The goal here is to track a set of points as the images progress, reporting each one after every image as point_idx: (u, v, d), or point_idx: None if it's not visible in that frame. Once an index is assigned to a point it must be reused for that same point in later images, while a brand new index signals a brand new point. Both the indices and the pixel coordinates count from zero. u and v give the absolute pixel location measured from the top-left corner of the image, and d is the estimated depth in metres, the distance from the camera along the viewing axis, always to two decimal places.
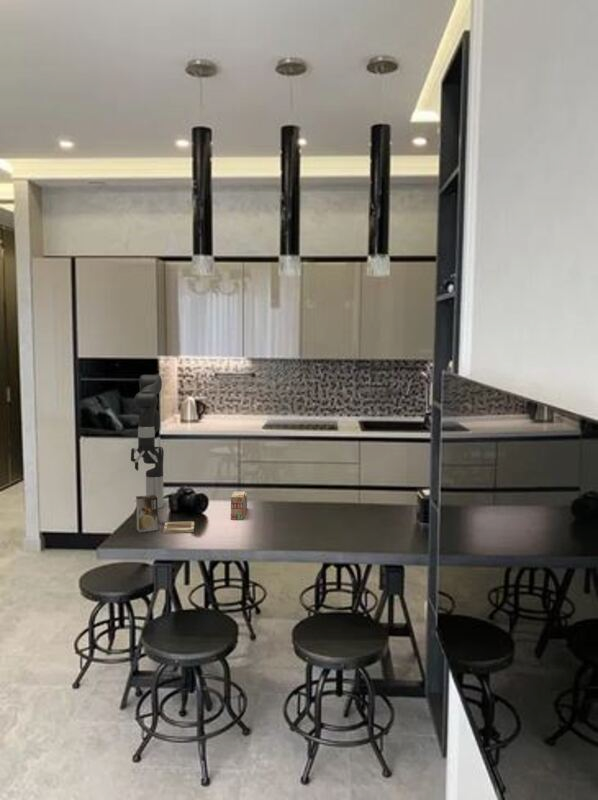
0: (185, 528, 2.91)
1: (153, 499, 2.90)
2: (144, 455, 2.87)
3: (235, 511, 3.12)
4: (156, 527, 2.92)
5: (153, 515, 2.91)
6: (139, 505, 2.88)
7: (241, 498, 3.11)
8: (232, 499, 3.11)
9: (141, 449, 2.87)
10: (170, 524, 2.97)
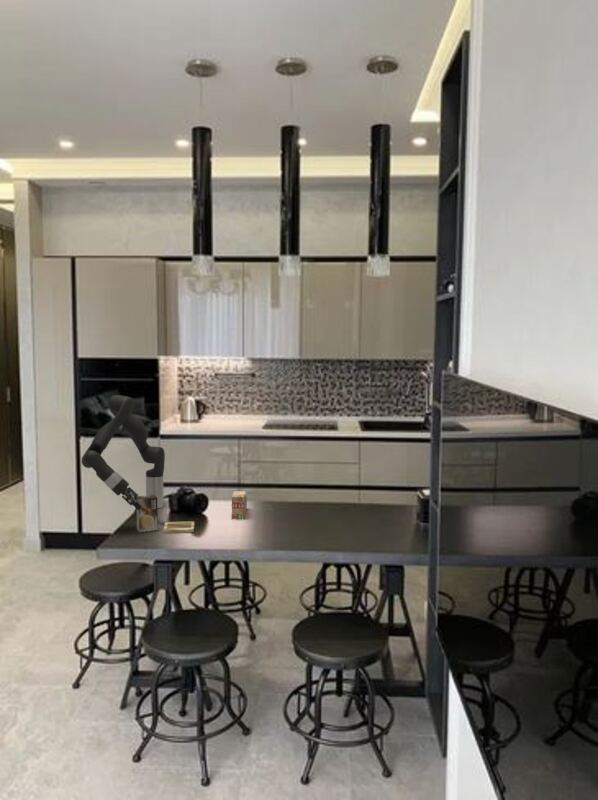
0: (185, 528, 2.91)
1: (153, 499, 2.90)
2: None
3: (236, 511, 3.12)
4: (156, 527, 2.92)
5: (153, 515, 2.91)
6: None
7: (242, 498, 3.12)
8: (233, 499, 3.12)
9: None
10: (170, 524, 2.97)
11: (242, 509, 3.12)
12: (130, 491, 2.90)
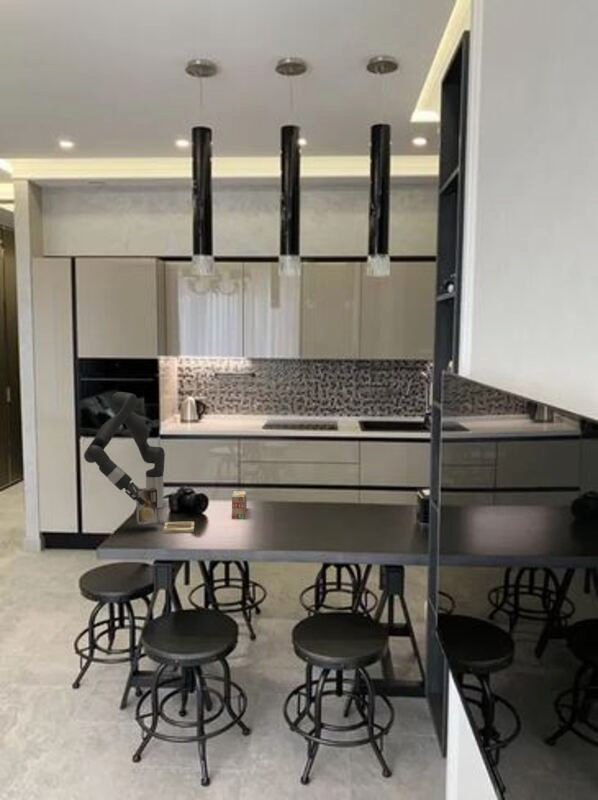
0: (185, 528, 2.91)
1: (153, 491, 2.90)
2: None
3: (236, 510, 3.13)
4: (156, 519, 2.92)
5: (153, 508, 2.91)
6: None
7: (242, 498, 3.12)
8: (233, 499, 3.12)
9: None
10: (170, 524, 2.97)
11: (242, 509, 3.13)
12: (133, 486, 2.90)
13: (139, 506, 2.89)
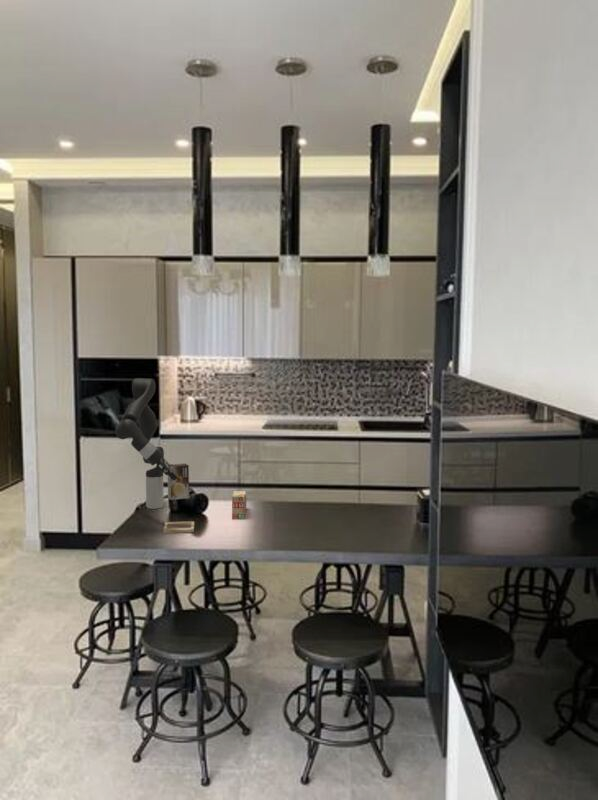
0: (185, 528, 2.91)
1: (184, 467, 2.92)
2: None
3: (236, 510, 3.13)
4: (187, 495, 2.93)
5: (184, 483, 2.92)
6: None
7: (242, 497, 3.12)
8: (233, 499, 3.12)
9: None
10: (170, 524, 2.97)
11: (242, 509, 3.13)
12: (165, 461, 2.91)
13: (171, 481, 2.90)
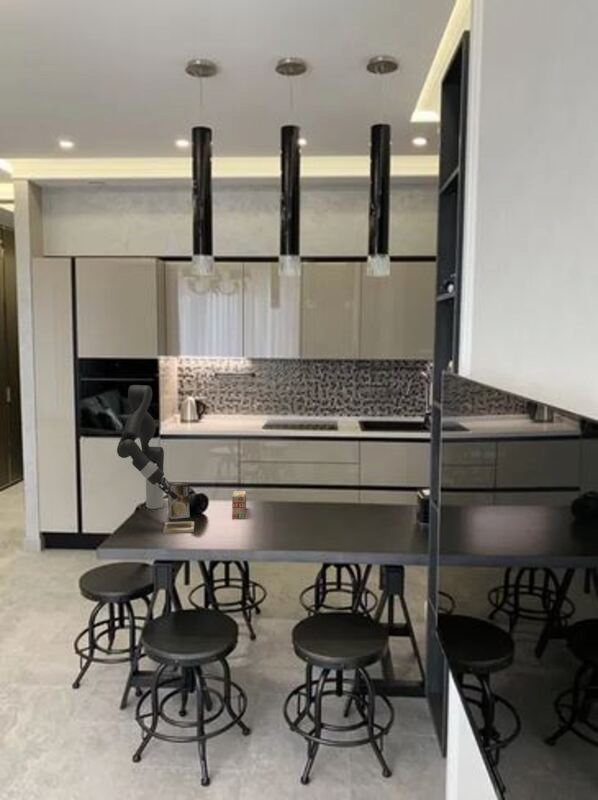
0: (185, 528, 2.91)
1: (185, 486, 2.92)
2: None
3: (236, 510, 3.13)
4: (188, 514, 2.94)
5: (185, 502, 2.93)
6: None
7: (242, 497, 3.13)
8: (233, 498, 3.13)
9: None
10: (170, 524, 2.97)
11: (243, 509, 3.13)
12: (165, 480, 2.92)
13: (172, 500, 2.90)
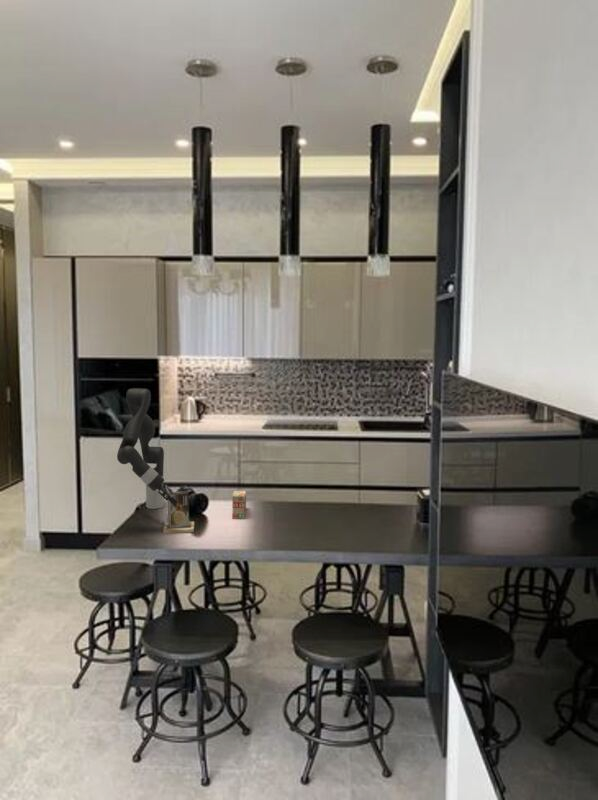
0: (185, 528, 2.91)
1: (184, 495, 2.93)
2: None
3: (236, 510, 3.13)
4: (187, 523, 2.94)
5: (184, 511, 2.93)
6: None
7: (243, 497, 3.13)
8: (234, 498, 3.13)
9: None
10: None
11: (243, 508, 3.14)
12: (166, 486, 2.92)
13: (171, 509, 2.91)
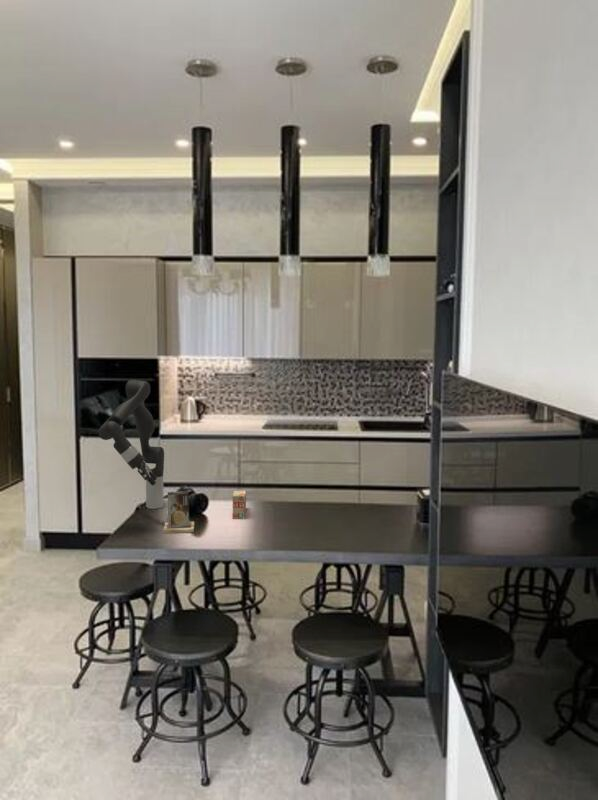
0: (185, 528, 2.91)
1: (184, 495, 2.93)
2: None
3: (236, 510, 3.14)
4: (187, 523, 2.94)
5: (184, 511, 2.93)
6: (171, 501, 2.90)
7: (243, 497, 3.13)
8: (234, 498, 3.13)
9: None
10: None
11: (243, 508, 3.14)
12: (145, 466, 2.91)
13: (171, 509, 2.91)
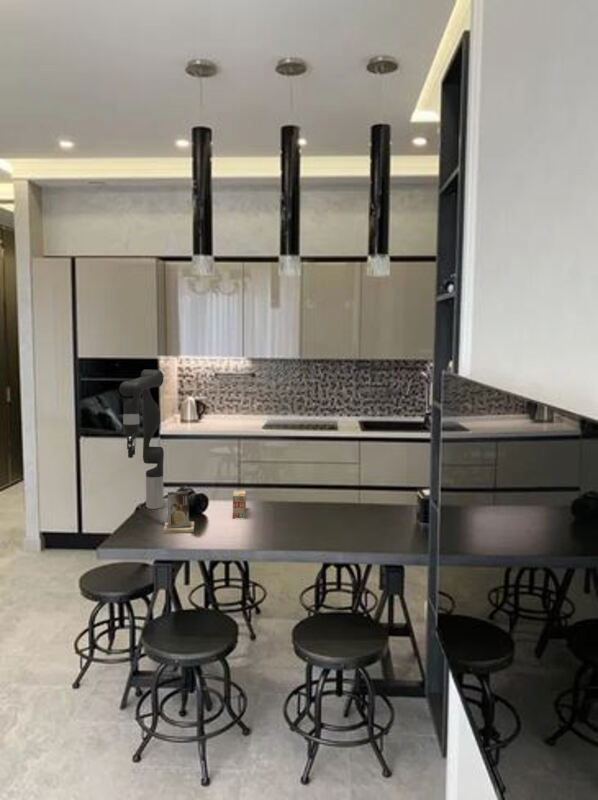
0: (185, 528, 2.91)
1: (184, 495, 2.93)
2: None
3: (237, 510, 3.14)
4: (187, 523, 2.94)
5: (184, 511, 2.93)
6: (171, 501, 2.90)
7: (243, 497, 3.14)
8: (234, 498, 3.13)
9: None
10: None
11: (243, 508, 3.14)
12: (135, 438, 2.97)
13: (171, 509, 2.91)
